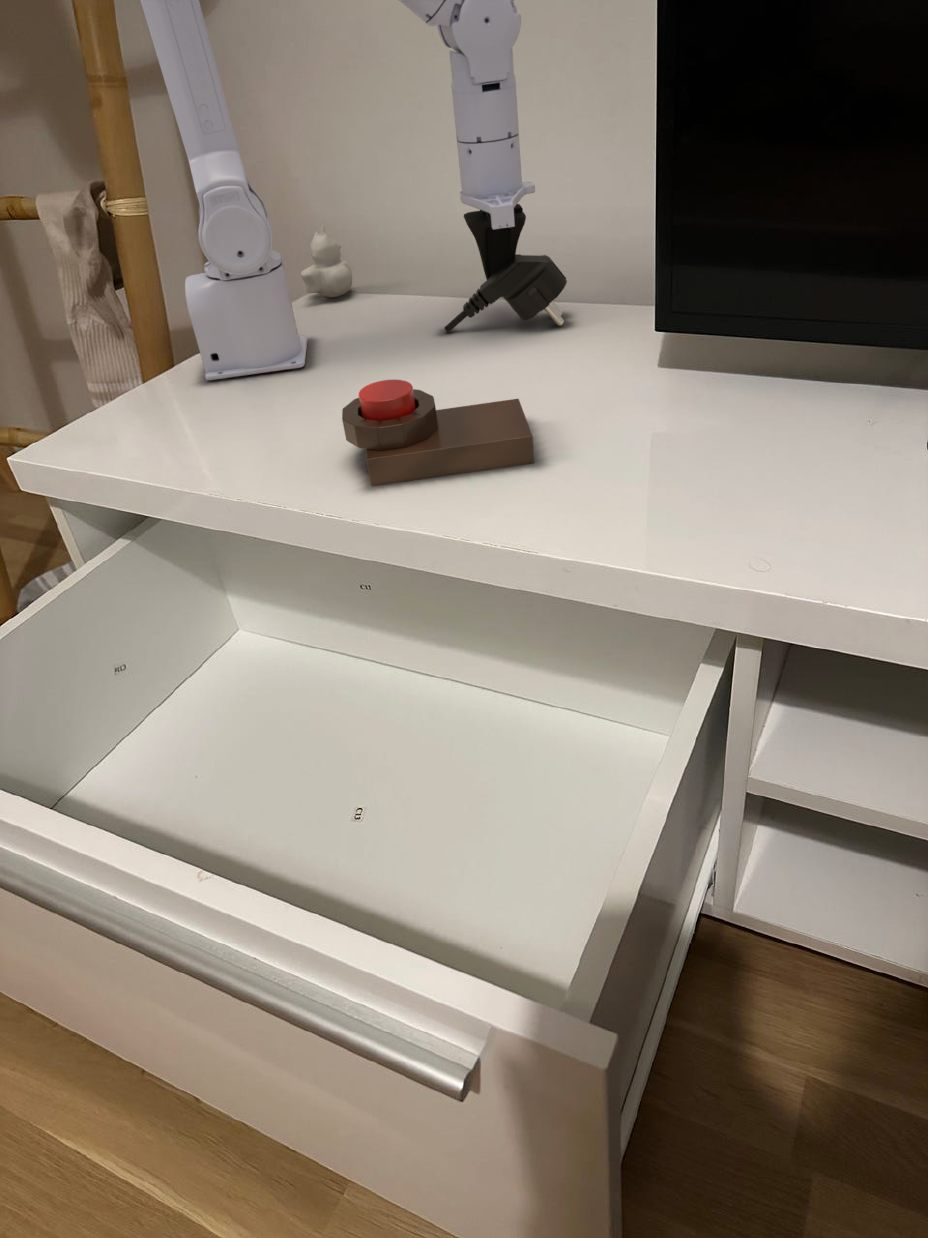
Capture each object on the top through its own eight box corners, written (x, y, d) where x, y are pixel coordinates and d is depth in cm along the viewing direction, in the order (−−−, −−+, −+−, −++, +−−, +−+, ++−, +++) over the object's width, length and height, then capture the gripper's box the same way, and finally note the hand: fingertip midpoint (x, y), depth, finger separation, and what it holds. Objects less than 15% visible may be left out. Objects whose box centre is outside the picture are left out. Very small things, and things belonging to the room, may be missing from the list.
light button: (362, 426, 67) (358, 404, 66) (362, 405, 70) (358, 383, 69) (417, 419, 67) (413, 396, 66) (414, 398, 70) (411, 375, 69)
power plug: (442, 314, 94) (534, 231, 89) (490, 368, 97) (581, 292, 92) (439, 333, 89) (536, 247, 84) (490, 389, 92) (586, 310, 87)
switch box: (351, 489, 67) (341, 439, 65) (351, 442, 73) (342, 395, 71) (534, 463, 67) (531, 412, 65) (518, 419, 74) (515, 371, 71)
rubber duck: (367, 291, 106) (355, 217, 101) (324, 309, 102) (310, 233, 98) (335, 286, 109) (322, 214, 104) (293, 303, 105) (277, 229, 101)
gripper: (544, 143, 78) (552, 303, 86) (519, 119, 90) (528, 262, 98) (462, 155, 78) (478, 314, 86) (447, 129, 90) (462, 271, 98)
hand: (500, 287), depth 92 cm, fingers closed
